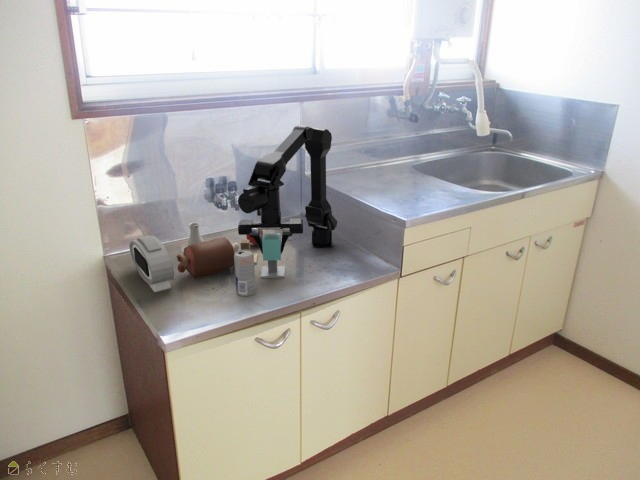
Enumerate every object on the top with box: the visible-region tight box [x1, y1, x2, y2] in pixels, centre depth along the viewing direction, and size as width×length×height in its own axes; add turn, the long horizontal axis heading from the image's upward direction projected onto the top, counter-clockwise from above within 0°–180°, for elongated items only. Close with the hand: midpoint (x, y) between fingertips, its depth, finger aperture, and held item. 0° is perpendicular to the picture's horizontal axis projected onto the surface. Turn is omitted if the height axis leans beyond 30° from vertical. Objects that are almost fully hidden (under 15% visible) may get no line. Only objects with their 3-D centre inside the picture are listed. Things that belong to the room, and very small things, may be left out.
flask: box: [187, 222, 205, 247], centre depth 171 cm, size 7×7×10 cm
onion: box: [245, 230, 264, 246], centre depth 177 cm, size 6×6×8 cm
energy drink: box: [234, 249, 257, 297], centre depth 145 cm, size 5×5×12 cm
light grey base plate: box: [260, 260, 286, 279], centre depth 157 cm, size 7×7×6 cm
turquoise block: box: [262, 232, 282, 262], centre depth 155 cm, size 5×5×7 cm
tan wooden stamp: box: [234, 239, 259, 266], centre depth 166 cm, size 7×7×6 cm
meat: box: [176, 237, 240, 279], centre depth 157 cm, size 20×12×10 cm, turn 128°
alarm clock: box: [129, 235, 175, 293], centre depth 152 cm, size 23×6×13 cm, turn 33°
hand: (272, 253), depth 156 cm, fingers closed on turquoise block, 5 cm apart
